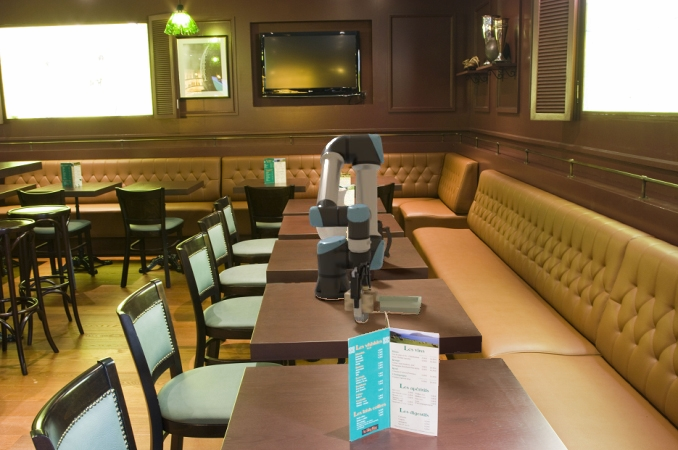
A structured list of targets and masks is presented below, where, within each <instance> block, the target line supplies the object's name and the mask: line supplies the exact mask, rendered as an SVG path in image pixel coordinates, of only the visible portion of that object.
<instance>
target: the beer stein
mask: <svg viewBox="0 0 678 450" xmlns="http://www.w3.org/2000/svg"><path fill="white" fill-rule="evenodd" d="M377 224H378V233H379V234H380V235H381V240H384V233H386V239H387V241H386V245H385V246H386V247H385V251H384V257H386V258H387V259H389V258H390V257H391V254H390V249H391V247H392V243H393V237H392V234H391V230H390V228H391V227H390V226H385V227H383V226H384V224H383V221H382V220H379V219H377ZM383 261H384V262H385V258H384V259H383Z"/></svg>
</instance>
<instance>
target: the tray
mask: <svg viewBox="0 0 678 450" xmlns="http://www.w3.org/2000/svg"><path fill="white" fill-rule="evenodd" d="M422 300H423V299H422V296H417V295H415V296H414V295H387V294H386V295H379V294H378V301H379V302H380V310H379V311H380V312H384V311H386V312H388V311H390V312H403V313H416V314H419V315H420V313H419V312H421V308H422V304H421V303H422ZM420 307H421V308H420ZM383 315H389V314H388V313H387V314H385V313H384V314H383Z"/></svg>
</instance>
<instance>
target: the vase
mask: <svg viewBox="0 0 678 450" xmlns="http://www.w3.org/2000/svg"><path fill="white" fill-rule="evenodd" d="M347 191H348V189H347V188H345V187H339V193H338V203H337V206H348V205H347V204H345V197H346V194H347ZM315 228H316V231H317V235H318V236H319V238H320V239H321V240H322V239H325V238H328V237H333V236H345V237H346V238H347V233H346V231H347V227H322V228H321V227H315Z"/></svg>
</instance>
